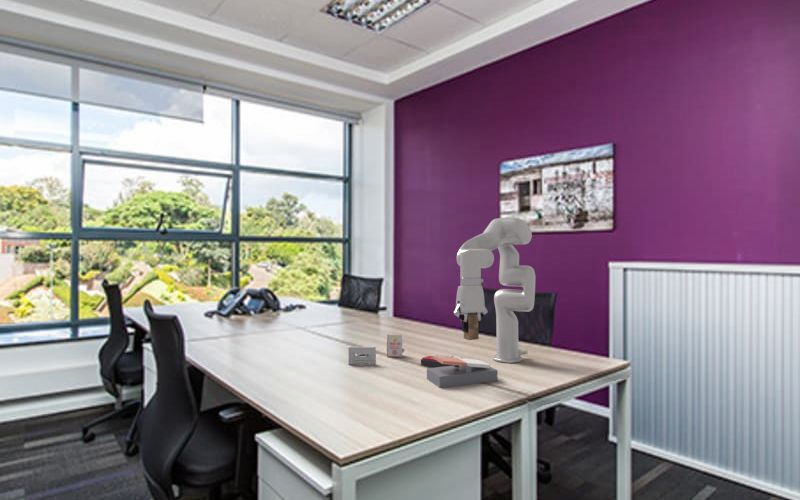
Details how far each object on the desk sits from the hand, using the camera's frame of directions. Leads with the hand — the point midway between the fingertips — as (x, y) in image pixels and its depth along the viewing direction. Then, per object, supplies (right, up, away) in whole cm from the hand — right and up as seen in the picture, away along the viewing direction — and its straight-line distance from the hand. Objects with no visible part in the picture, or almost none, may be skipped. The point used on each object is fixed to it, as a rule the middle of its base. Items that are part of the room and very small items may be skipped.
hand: (470, 331), depth 168 cm
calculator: (-8, -20, +26) cm, 34 cm away
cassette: (-43, -20, +29) cm, 56 cm away
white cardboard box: (-29, -20, +43) cm, 56 cm away
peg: (0, -3, 0) cm, 3 cm away
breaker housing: (-3, -19, +5) cm, 20 cm away
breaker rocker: (-3, -13, +5) cm, 15 cm away
